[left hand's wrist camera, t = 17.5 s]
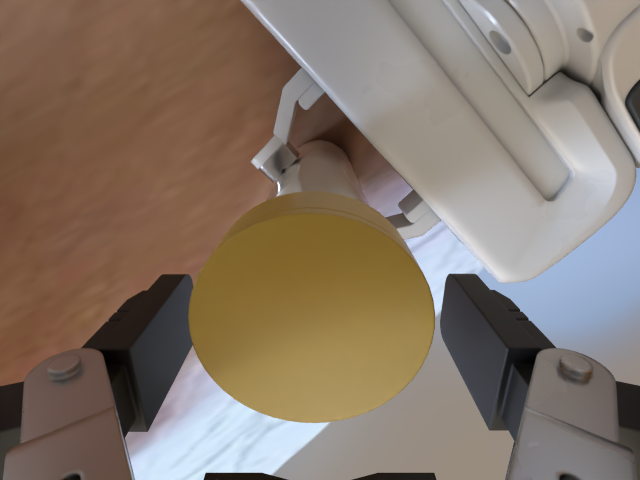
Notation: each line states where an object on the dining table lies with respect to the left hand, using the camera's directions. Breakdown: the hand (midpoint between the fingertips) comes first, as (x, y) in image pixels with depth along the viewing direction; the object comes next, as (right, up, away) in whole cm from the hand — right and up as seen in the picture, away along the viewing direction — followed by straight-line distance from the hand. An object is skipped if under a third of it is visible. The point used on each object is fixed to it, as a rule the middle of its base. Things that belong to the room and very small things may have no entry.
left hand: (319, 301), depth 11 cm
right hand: (-1, +3, +8) cm, 8 cm away
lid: (0, 0, -3) cm, 3 cm away
